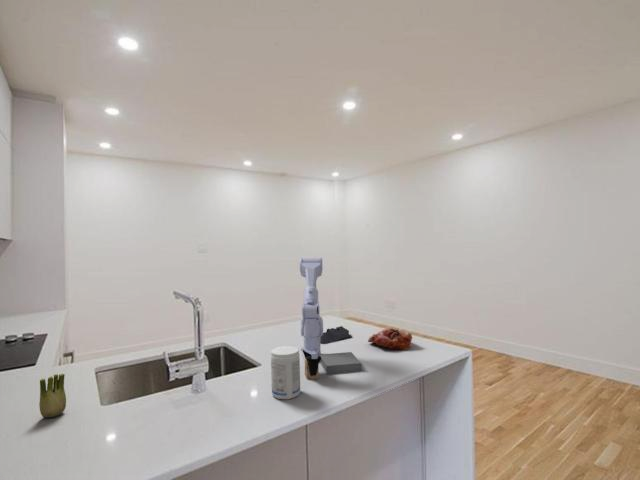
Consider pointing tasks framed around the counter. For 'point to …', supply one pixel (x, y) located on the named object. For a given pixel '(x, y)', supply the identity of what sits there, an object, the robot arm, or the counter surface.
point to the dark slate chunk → (335, 335)
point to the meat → (392, 339)
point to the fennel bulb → (52, 396)
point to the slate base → (340, 362)
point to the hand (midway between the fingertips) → (311, 371)
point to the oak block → (309, 372)
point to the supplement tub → (285, 372)
